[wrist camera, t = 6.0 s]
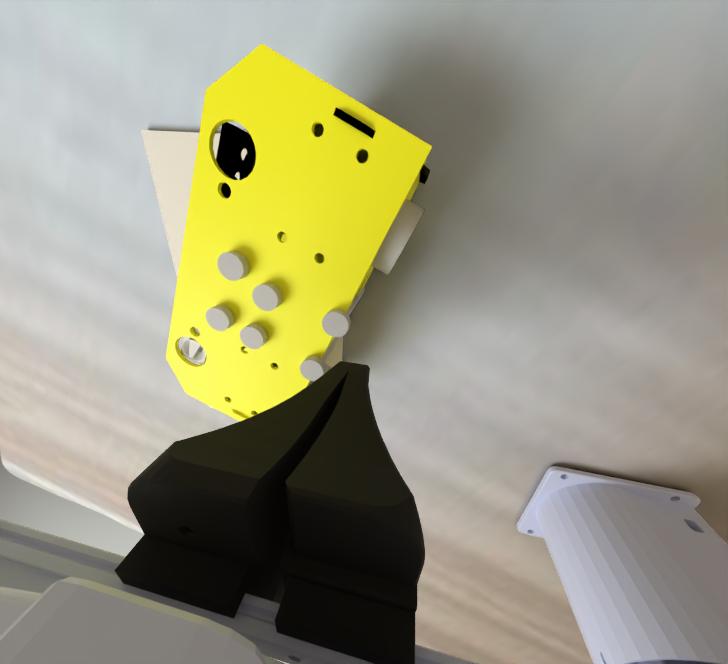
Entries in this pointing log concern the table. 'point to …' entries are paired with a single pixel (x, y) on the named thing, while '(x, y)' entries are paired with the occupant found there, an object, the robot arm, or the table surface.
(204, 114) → the yellow toy chassis
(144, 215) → the table surface
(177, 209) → the felt pad
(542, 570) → the table surface
